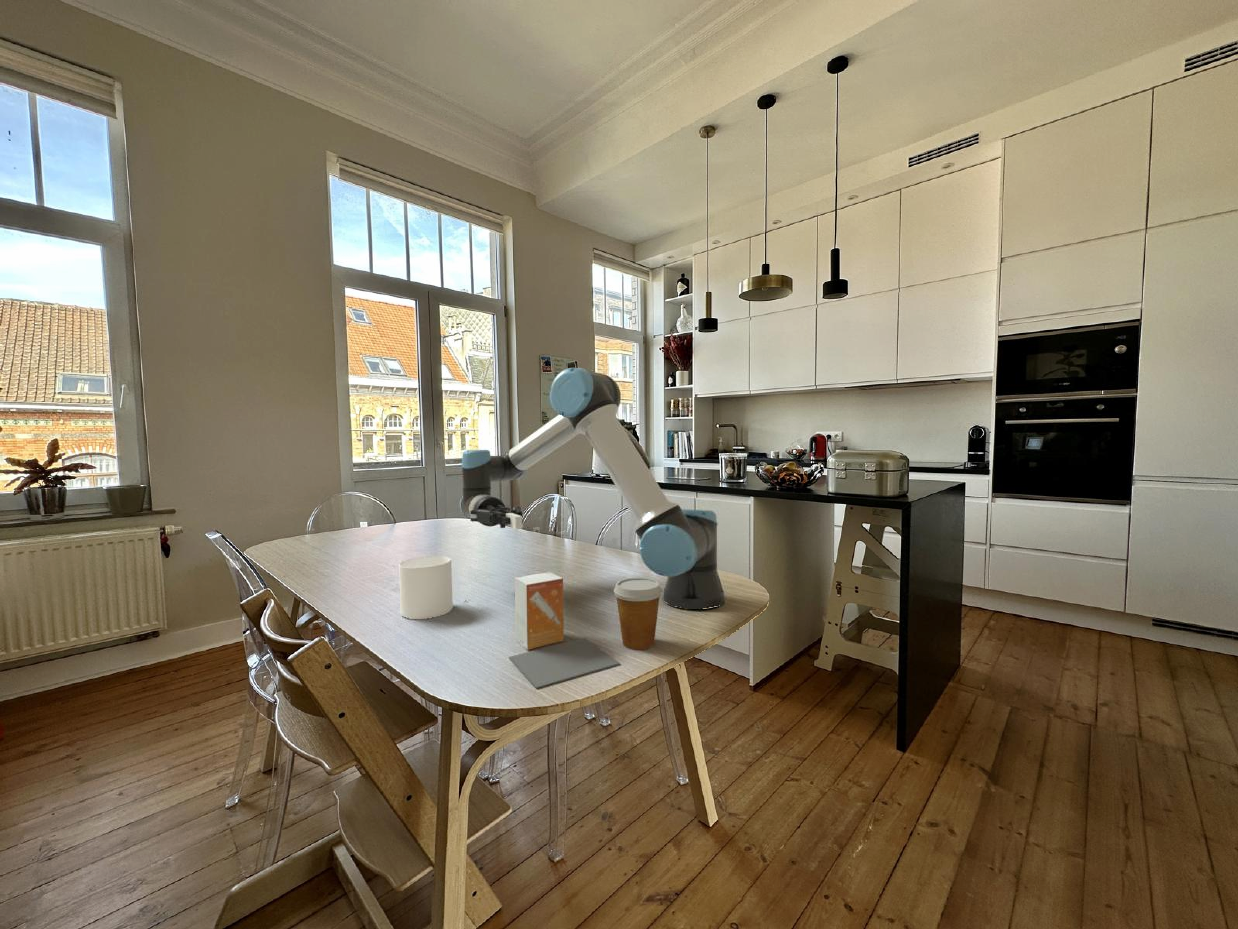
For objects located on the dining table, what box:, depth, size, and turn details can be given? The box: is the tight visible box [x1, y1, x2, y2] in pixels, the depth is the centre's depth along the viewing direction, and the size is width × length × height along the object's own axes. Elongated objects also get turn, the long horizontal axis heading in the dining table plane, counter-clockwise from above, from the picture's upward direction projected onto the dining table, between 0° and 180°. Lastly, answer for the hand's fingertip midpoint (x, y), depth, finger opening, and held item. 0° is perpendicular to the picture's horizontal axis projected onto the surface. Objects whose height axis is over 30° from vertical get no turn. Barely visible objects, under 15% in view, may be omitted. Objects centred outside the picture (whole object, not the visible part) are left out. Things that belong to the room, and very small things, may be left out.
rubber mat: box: [508, 637, 621, 690], centre depth 89 cm, size 16×14×1 cm
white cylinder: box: [398, 555, 454, 620], centre depth 118 cm, size 12×12×12 cm
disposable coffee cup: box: [613, 577, 663, 650], centre depth 97 cm, size 10×10×12 cm
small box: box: [514, 571, 565, 651], centre depth 99 cm, size 8×6×13 cm
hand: (518, 522), depth 107 cm, fingers closed
